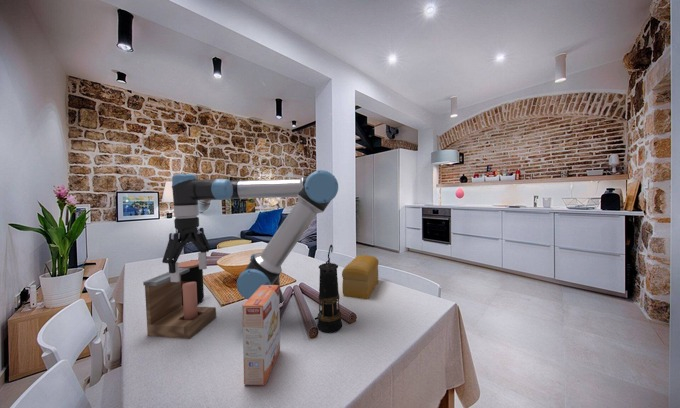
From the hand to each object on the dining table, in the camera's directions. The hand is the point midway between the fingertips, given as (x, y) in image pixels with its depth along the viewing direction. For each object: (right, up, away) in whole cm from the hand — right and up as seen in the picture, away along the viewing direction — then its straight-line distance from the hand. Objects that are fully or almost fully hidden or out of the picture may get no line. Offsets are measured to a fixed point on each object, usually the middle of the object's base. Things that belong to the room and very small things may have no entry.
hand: (190, 274), depth 88 cm
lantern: (+51, -19, 0) cm, 55 cm away
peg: (0, -19, +1) cm, 19 cm away
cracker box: (+34, -20, -20) cm, 44 cm away
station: (-3, -19, +1) cm, 20 cm away
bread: (+66, -17, +34) cm, 76 cm away
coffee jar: (-13, -19, +21) cm, 31 cm away
